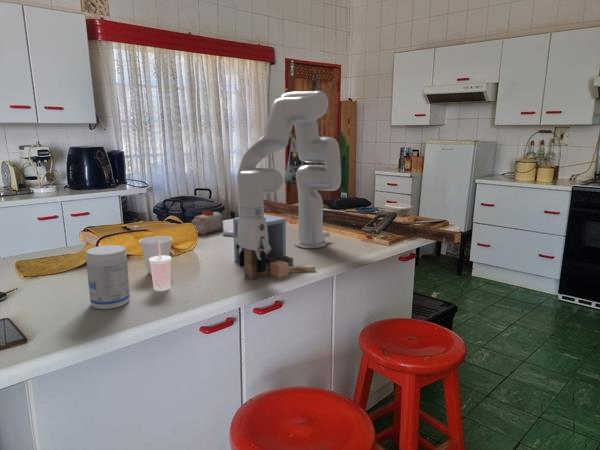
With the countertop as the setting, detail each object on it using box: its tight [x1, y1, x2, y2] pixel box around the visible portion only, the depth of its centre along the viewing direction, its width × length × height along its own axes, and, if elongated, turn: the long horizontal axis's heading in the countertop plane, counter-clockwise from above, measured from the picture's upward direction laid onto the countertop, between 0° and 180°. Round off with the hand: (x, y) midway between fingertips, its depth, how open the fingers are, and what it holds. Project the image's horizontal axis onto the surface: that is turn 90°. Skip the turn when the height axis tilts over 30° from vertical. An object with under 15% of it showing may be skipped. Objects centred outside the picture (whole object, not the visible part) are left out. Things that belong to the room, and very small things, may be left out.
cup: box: [138, 235, 173, 276], centre depth 138 cm, size 10×10×11 cm
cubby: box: [232, 213, 287, 263], centre depth 149 cm, size 12×13×15 cm
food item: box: [191, 210, 224, 236], centre depth 195 cm, size 14×8×10 cm, turn 147°
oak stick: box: [288, 265, 316, 273], centre depth 140 cm, size 9×2×2 cm, turn 98°
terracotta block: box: [269, 260, 289, 279], centre depth 136 cm, size 4×4×4 cm
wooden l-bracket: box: [244, 248, 294, 281], centre depth 141 cm, size 18×12×10 cm
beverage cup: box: [149, 241, 172, 292], centre depth 124 cm, size 6×6×14 cm
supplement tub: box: [85, 244, 131, 310], centre depth 112 cm, size 10×10×15 cm
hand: (252, 268), depth 134 cm, fingers open, 7 cm apart
